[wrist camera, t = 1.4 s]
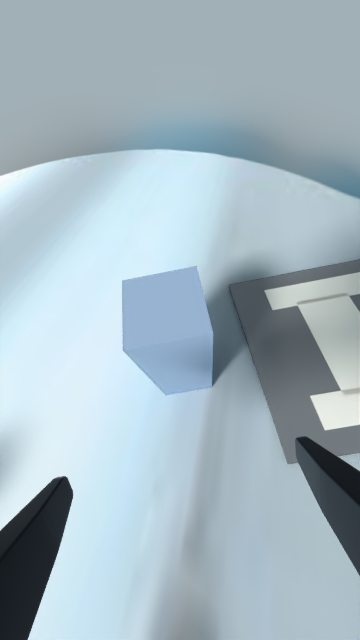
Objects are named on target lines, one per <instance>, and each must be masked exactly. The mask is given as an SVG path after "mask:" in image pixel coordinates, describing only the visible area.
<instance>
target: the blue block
mask: <svg viewBox="0 0 360 640" xmlns="http://www.w3.org/2000/svg"><path fill="white" fill-rule="evenodd" d="M122 317H123V351H124V352H125V353H126V354H127V355H128V356H129V357H130V358H131V359H132V360H133V361H134V363H135V364H136V365H137V366H138V367H139V368H140V369H141V370H142V371H143V372H144V373H145V374H146V375H147V376H148V377H149V378H150V379H151V380H152V381H153V382H154V383H155V385H156V386H157V387H158V388H159V389H160V390H161V391H162V392H163V393H164V394H165V395H170V394H176V393H182V392H187V391H193V390H199V389H204V388H210V387H212V368H213V330H212V326H211V322H210V318H209V314H208V310H207V306H206V302H205V298H204V294H203V290H202V286H201V282H200V278H199V274H198V270H197V266H194V267H189V268H184V269H179V270H174V271H169V272H164V273H159V274H154V275H148V276H143V277H138V278H133V279H128V280H123V281H122Z"/></svg>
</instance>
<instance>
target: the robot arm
mask: <svg viewBox="0 0 360 640" xmlns="http://www.w3.org/2000/svg"><path fill="white" fill-rule="evenodd" d="M295 450H296V458H297V461H298V463H299V465H300V467H301V469H302V471H303V473H304V475H305V477H306V480H307V482H308V484H309V486H310V488H311V490H312V492H313V494H314V496H315V498H316V500H317V502H318V504H319V506H320V508H321V510H322V512H323V514H324V516H325V517H326V519H327V521H328V522H329V524H330V526H331V528H332V529H333V531H334V533H335V534H336V536H337V538H338V539H339V541H340V543H341V545H342V546H343V548H344V550H345V551H346V553H347V555H348V556H349V558H350V560H351V562H352V563H353V565H354V567H355V568H356V570H357V572H358V573H359V575H360V471H359V470H357V469H356V468H354V467H353V466H351V465H349V464H348V463H346V462H345V461H343V460H342V459H340V458H339V457H337V456H336V455H334V454H333V453H331V452H330V451H328V450H327V449H325V448H324V447H322V446H321V445H319V444H318V443H316V442H315V441H313V440H312V439H310V438H309V437H307V436H302V437H297V438H295ZM72 499H73V490H72V488H71V485H70V483H69V481H68V478H67V477H66V476H62V477H57V478H54V479H53V480H52V481H51V482H50V483H49V484H48V485H47V486H46V487H45V488H44V489H43V490H42V491H41V492H40V493H39V494H38V495H37V496H36V497H35V498H34V499H32V500H31V501H30V502H29V503H28V504H27V505H26V506H25V507H24V508H23V509H22V510H21V511H20V512H19V513H18V514H17V515H16V516H15V517H14V518H13V519H12V520H11V521H10V522H9V523H8V524H7V525H6V526H5V527H4V528H3V529H2V530H1V531H0V640H28V637H29V634H30V631H31V628H32V625H33V623H34V620H35V617H36V614H37V611H38V608H39V605H40V603H41V600H42V597H43V594H44V591H45V588H46V585H47V582H48V580H49V577H50V574H51V571H52V568H53V565H54V562H55V560H56V556H57V553H58V550H59V547H60V544H61V540H62V537H63V533H64V529H65V525H66V522H67V518H68V514H69V510H70V507H71V503H72Z"/></svg>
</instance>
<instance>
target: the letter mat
mask: <svg viewBox="0 0 360 640" xmlns="http://www.w3.org/2000/svg"><path fill="white" fill-rule="evenodd" d="M229 289H230V292H231V295H232V298H233V301H234V304H235V307H236V310H237V313H238V316H239V319H240V322H241V325H242V328H243V331H244V334H245V337H246V340H247V343H248V346H249V349H250V352H251V355H252V358H253V361H254V364H255V367H256V370H257V373H258V376H259V379H260V382H261V385H262V388H263V391H264V394H265V397H266V400H267V403H268V406H269V409H270V412H271V415H272V418H273V421H274V424H275V427H276V430H277V433H278V436H279V439H280V442H281V445H282V448H283V451H284V454H285V457H286V460H287V463H288V464H293V463H298V461H297V458H296V450H295V438H297V437H302V436H307V437H309V438H310V439H312V440H313V441H315V442H316V443H318V444H319V445H321V446H322V447H324V448H325V449H327V450H328V451H330V452H331V453H333V454H334V455H336V456H343V455H349V454H355V453H360V260H355V261H350V262H344V263H339V264H334V265H329V266H324V267H319V268H313V269H308V270H303V271H298V272H293V273H287V274H282V275H277V276H272V277H267V278H262V279H256V280H251V281H246V282H241V283H236V284H230V285H229Z"/></svg>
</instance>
